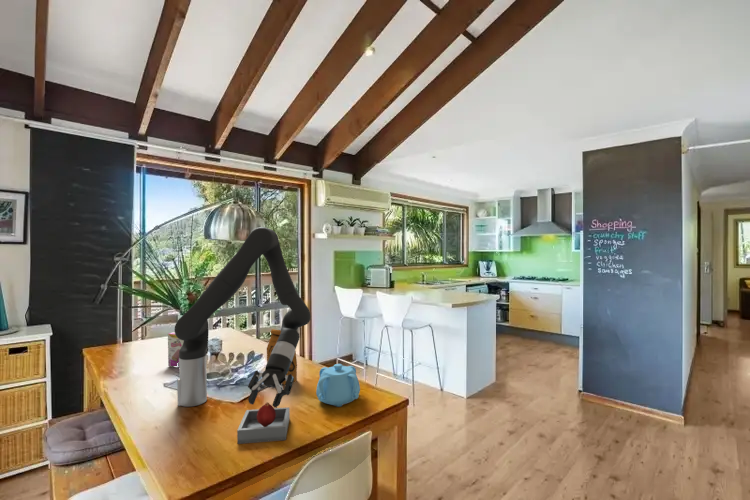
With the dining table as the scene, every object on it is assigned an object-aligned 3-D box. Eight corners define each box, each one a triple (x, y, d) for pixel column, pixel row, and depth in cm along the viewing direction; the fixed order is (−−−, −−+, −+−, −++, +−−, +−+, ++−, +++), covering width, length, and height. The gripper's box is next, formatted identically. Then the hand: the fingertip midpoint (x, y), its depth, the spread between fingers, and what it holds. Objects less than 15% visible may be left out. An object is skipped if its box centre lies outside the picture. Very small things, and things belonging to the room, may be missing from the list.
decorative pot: (359, 409, 136) (359, 371, 136) (313, 410, 136) (313, 372, 135) (360, 392, 152) (360, 358, 152) (319, 392, 152) (319, 358, 152)
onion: (258, 421, 124) (260, 397, 123) (276, 422, 124) (278, 398, 124) (253, 430, 118) (256, 405, 118) (272, 432, 118) (275, 407, 118)
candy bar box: (167, 367, 185) (167, 333, 184) (176, 364, 189) (175, 331, 189) (185, 369, 181) (185, 335, 181) (193, 366, 186) (193, 332, 185)
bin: (237, 443, 113) (237, 430, 113) (246, 422, 127) (246, 410, 127) (285, 440, 115) (285, 426, 115) (289, 419, 129) (289, 407, 129)
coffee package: (282, 388, 157) (282, 334, 156) (263, 381, 164) (263, 330, 164) (301, 380, 165) (300, 330, 164) (282, 375, 172) (281, 326, 172)
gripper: (258, 350, 130) (237, 397, 119) (296, 354, 126) (278, 402, 115) (267, 361, 135) (248, 407, 124) (303, 365, 131) (287, 412, 120)
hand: (262, 405), depth 119 cm, fingers open, 8 cm apart
